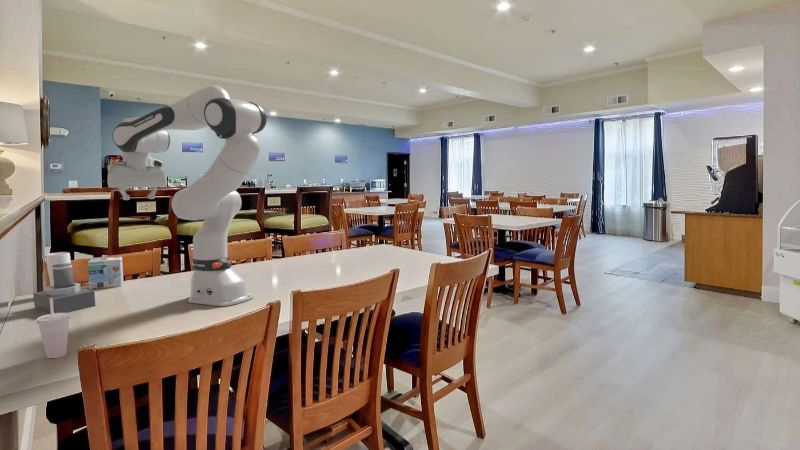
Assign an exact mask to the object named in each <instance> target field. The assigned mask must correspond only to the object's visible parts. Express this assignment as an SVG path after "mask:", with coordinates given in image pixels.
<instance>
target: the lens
mask: <svg viewBox="0 0 800 450" xmlns="http://www.w3.org/2000/svg"><path fill="white" fill-rule="evenodd" d="M52 269H53V279H54V289H61V288H68V287H73V286H74V285H73V283H74V276H73V275H74V274H73V264H72V263H71V264H70V263H65V264H56V265H53V266H52Z"/></svg>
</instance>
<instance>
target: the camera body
mask: <svg viewBox="0 0 800 450" xmlns="http://www.w3.org/2000/svg"><path fill="white" fill-rule="evenodd" d="M73 285H74V286H73V287H68V288H61V289H54V285H52V286H51V285H50V286H47V287H46V290H44V291H43V290H42V291H38V292H33V294H32V295H33V303H34V309H36V310H39V311H43V312H46V313H49V314H51V310H50V298H53V310H54V313H70V312H75V311H79V310H80V311H81V310H84V309H86V308H87V309H88V308H92V307H95V306H96V296H95V293H96V292H95V290H93V289H88V288H82V286H81V283H79V282H73Z"/></svg>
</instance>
